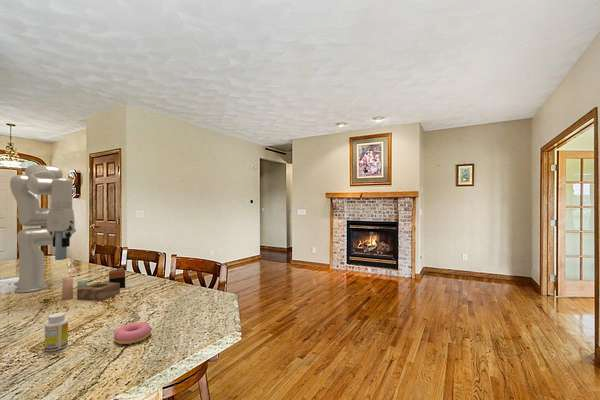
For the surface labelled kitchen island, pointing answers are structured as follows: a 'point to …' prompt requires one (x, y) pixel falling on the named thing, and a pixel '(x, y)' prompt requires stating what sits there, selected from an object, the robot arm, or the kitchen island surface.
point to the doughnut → (132, 333)
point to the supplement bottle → (56, 332)
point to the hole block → (98, 291)
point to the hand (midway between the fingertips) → (61, 246)
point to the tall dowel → (60, 246)
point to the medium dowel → (67, 288)
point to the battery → (117, 277)
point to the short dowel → (81, 283)
